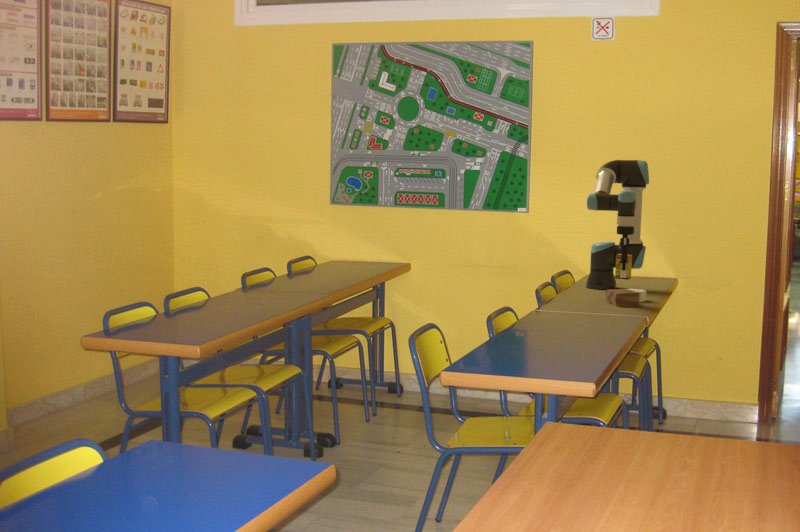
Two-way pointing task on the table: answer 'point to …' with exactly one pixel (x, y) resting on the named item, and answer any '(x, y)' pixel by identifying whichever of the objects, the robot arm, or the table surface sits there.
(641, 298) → the off-white block
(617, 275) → the supplement box
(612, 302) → the walnut block
